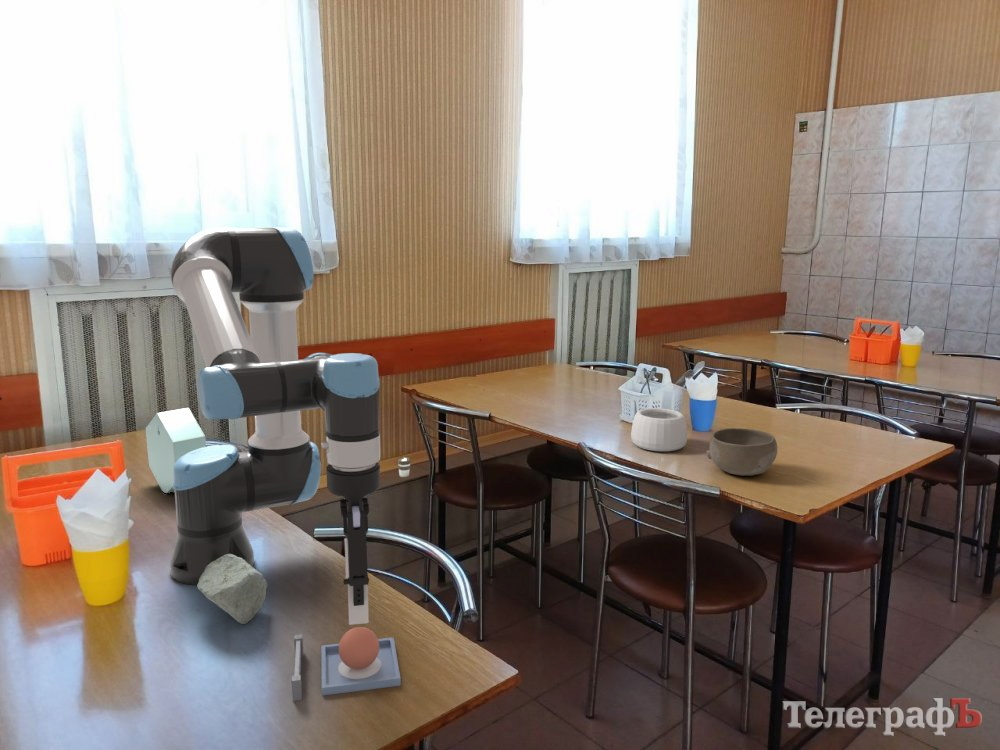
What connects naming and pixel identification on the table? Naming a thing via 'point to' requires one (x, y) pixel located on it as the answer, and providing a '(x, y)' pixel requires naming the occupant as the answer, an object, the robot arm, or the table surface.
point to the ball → (358, 648)
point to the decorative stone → (234, 587)
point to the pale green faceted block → (171, 443)
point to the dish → (359, 670)
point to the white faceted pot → (659, 429)
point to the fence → (297, 668)
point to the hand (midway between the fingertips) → (356, 598)
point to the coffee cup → (404, 467)
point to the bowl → (742, 450)
